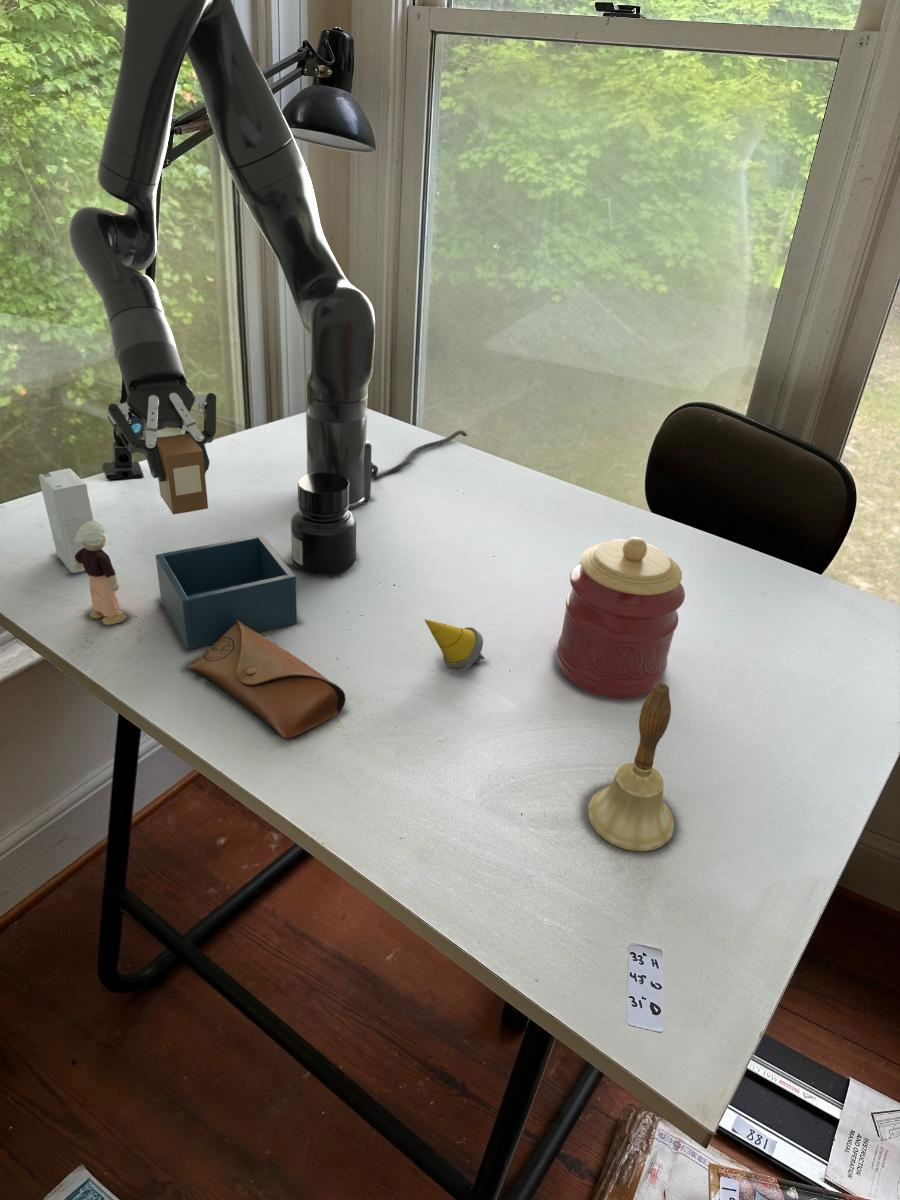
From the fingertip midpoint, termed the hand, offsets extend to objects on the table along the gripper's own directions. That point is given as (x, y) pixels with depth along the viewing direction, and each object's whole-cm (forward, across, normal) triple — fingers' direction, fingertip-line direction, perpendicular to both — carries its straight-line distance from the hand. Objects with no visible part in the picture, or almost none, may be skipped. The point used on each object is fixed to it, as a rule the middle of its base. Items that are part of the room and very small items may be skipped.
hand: (183, 475), depth 107 cm
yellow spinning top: (+34, +21, -14) cm, 42 cm away
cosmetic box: (+4, -13, +15) cm, 21 cm away
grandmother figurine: (+14, -13, +5) cm, 20 cm away
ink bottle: (+14, +17, +6) cm, 22 cm away
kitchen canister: (+40, +38, -20) cm, 58 cm away
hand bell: (+54, +24, -34) cm, 68 cm away
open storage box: (+18, +1, +1) cm, 18 cm away
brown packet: (+2, 0, +4) cm, 4 cm away
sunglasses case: (+30, 0, -10) cm, 32 cm away
